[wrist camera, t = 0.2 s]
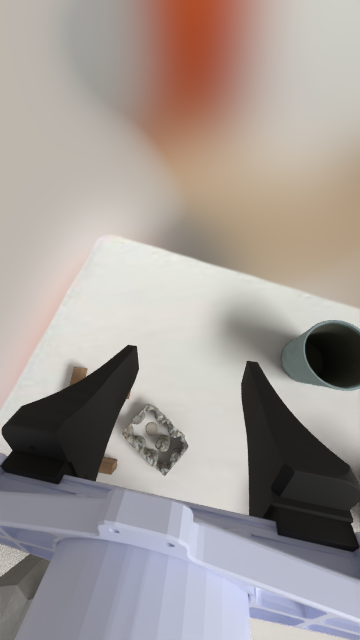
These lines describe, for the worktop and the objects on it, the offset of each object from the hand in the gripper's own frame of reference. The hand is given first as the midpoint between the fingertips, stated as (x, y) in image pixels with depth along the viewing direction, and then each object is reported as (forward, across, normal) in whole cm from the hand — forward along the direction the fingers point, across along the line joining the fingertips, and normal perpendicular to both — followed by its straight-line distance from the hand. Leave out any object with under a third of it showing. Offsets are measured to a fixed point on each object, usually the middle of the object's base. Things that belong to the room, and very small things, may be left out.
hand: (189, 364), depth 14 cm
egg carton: (+13, +6, +31) cm, 34 cm away
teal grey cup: (+26, -20, +19) cm, 37 cm away
